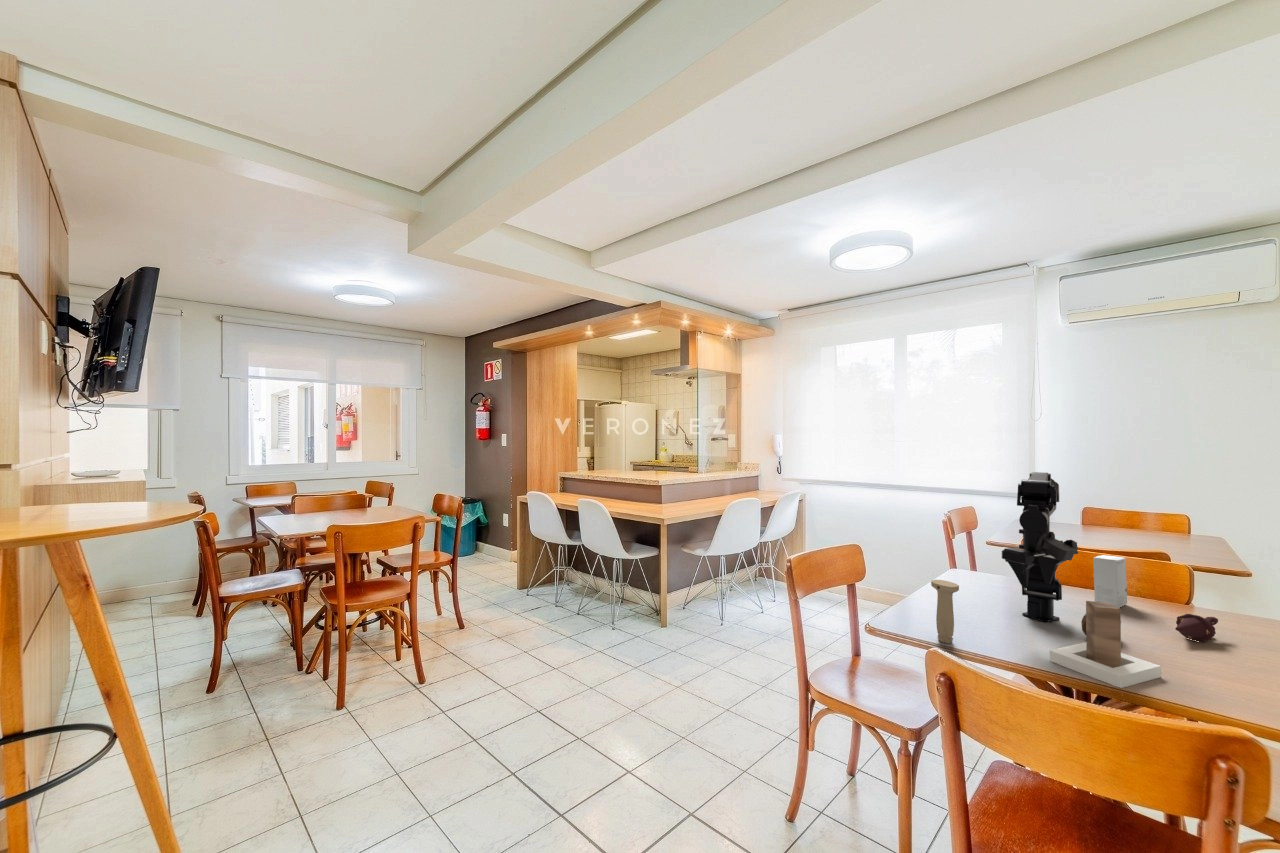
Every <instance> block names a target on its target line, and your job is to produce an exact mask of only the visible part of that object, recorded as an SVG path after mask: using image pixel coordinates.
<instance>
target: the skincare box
mask: <svg viewBox="0 0 1280 853" xmlns="http://www.w3.org/2000/svg"><path fill="white" fill-rule="evenodd" d="M1126 560H1127V559H1126V557H1123V556H1122V557H1121V556H1114V555H1107V554H1101V555H1097V556H1094V557H1093V584H1094V585H1093V587H1094V588H1093V589H1094V595H1093V596H1094V601H1095V602H1107V603H1111V604H1113V605H1114V606H1116V607H1118V608H1120V607H1121V608H1123V607H1125V606H1127V605H1128V590H1127V588H1128V587H1127V584H1128V583H1127V562H1126ZM1126 604H1127V605H1126ZM1124 605H1125V606H1124ZM1122 606H1123V607H1122ZM1121 608H1120V609H1121Z"/></svg>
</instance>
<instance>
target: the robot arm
mask: <svg viewBox="0 0 1280 853" xmlns="http://www.w3.org/2000/svg"><path fill="white" fill-rule="evenodd" d="M1017 484H1018V485H1017V498H1016V506H1019V507H1023V508H1022V513H1021V514H1020V516H1019V519H1018V520H1019V521H1018V522H1019V524H1020V526H1021V527H1022V528H1020V529H1018V534H1022V544H1018V548H1017V547H1006V548H1004V549H1002V550H1001V559H1003V560H1005V562H1006V563H1008V565H1009V567H1010V568H1011V570H1012V571H1013V573H1014V574H1015V576H1016V578H1017V580H1018V582H1019V584H1020V586H1021V595H1022V596H1026V597H1027V601H1026V602H1027V604H1026V607H1027V608H1026V609H1027V610H1026V612H1022V613H1021V614H1022V616H1024V617H1027V618H1032V619H1034V620H1037V621H1039V622H1043V623H1048V622H1053V621H1058V620H1060V617H1059V616H1056V615H1054V614H1055V612H1054V610H1055V608H1054V606H1055V605H1054V602H1055V601H1058V602H1059V601H1062V600H1063V593H1062V592H1063V591H1062V590H1063V589H1062V587H1063V586H1062V584H1061V583H1060V581H1059V578H1057V577H1056V571H1057V570H1058V567H1059V565H1061V564H1063V563H1065V562H1067V561H1072V560H1073V558H1074V556H1075V555H1078V554H1079V550H1078V549H1079V548H1078V542H1077V541H1075V540H1073V539H1066V540H1065V541H1063V540H1059V539H1056V534H1055V533H1054V531H1050V525H1051V524H1050V523H1051V522H1050V521H1051V517H1050V516H1052V515H1053V513H1054V512H1055V511H1056V510H1057V503H1059V502H1060V485H1059V483H1058V482H1057V481H1055V480H1054V479H1053V478H1052V473H1049V472H1040V471H1037V472H1036V471H1033V472H1030V473H1029V478H1028V479H1021V481H1020V482H1019V483H1017Z"/></svg>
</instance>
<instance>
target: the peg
mask: <svg viewBox="0 0 1280 853" xmlns="http://www.w3.org/2000/svg"><path fill="white" fill-rule="evenodd" d="M1085 614H1086V635H1085V639H1086V641H1085V642H1086V659H1089V660H1092V661H1095V662H1098V663H1100V664H1103V665H1106V666H1109V667H1111V668H1115V667H1119V666H1121V653H1122V641H1121V640H1122V637H1121V636H1122V629H1121V628H1122V626H1121V622H1122V620H1121V616H1122V615H1121V614H1122V611H1121V608H1118V607H1116V606H1114V605H1113V604H1111V603H1107V602H1095V600H1085Z"/></svg>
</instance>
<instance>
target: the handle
mask: <svg viewBox="0 0 1280 853" xmlns="http://www.w3.org/2000/svg"><path fill="white" fill-rule="evenodd" d="M930 585H931V587H932V588H934V589H935V590H936V592H937V599H936V603H937V604H936V615H935V616H936V621H935V622H936V624H935V625H936V631H937V640H938V641H939V642H940V643H944V642H945V643H944V644H952V643H953V642H954V637H953V636H954V632H955V630H954V629H955V615H954V602H953V601H954V600H953V596H954V595H953V594H954V593H957V592H959V590H960V585H959V584H958V583H954V582H953V581H949V580H944V579H943V580H942V579H933V580H931V581H930Z"/></svg>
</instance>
